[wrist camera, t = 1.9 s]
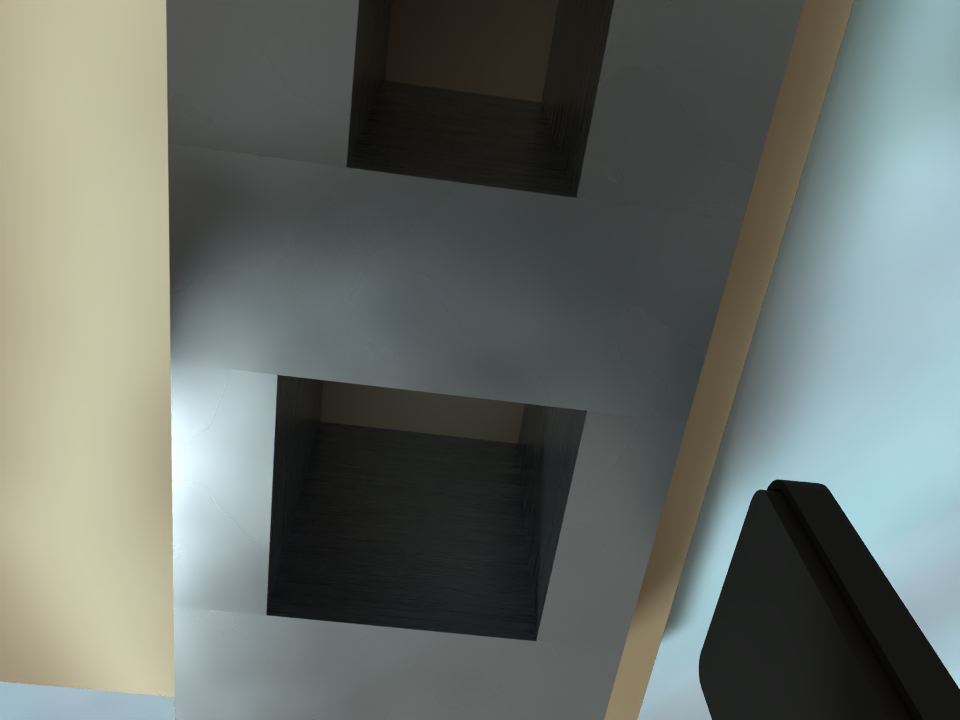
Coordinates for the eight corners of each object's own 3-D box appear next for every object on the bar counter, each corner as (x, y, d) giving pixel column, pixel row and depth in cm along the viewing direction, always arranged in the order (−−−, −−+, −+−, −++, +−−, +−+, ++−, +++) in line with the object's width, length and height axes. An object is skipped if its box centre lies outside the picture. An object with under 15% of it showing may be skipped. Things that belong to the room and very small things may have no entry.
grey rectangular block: (527, 695, 20) (545, 929, 15) (244, 668, 19) (176, 902, 15) (717, -153, 13) (854, -180, 8) (274, -227, 12) (162, -297, 8)
